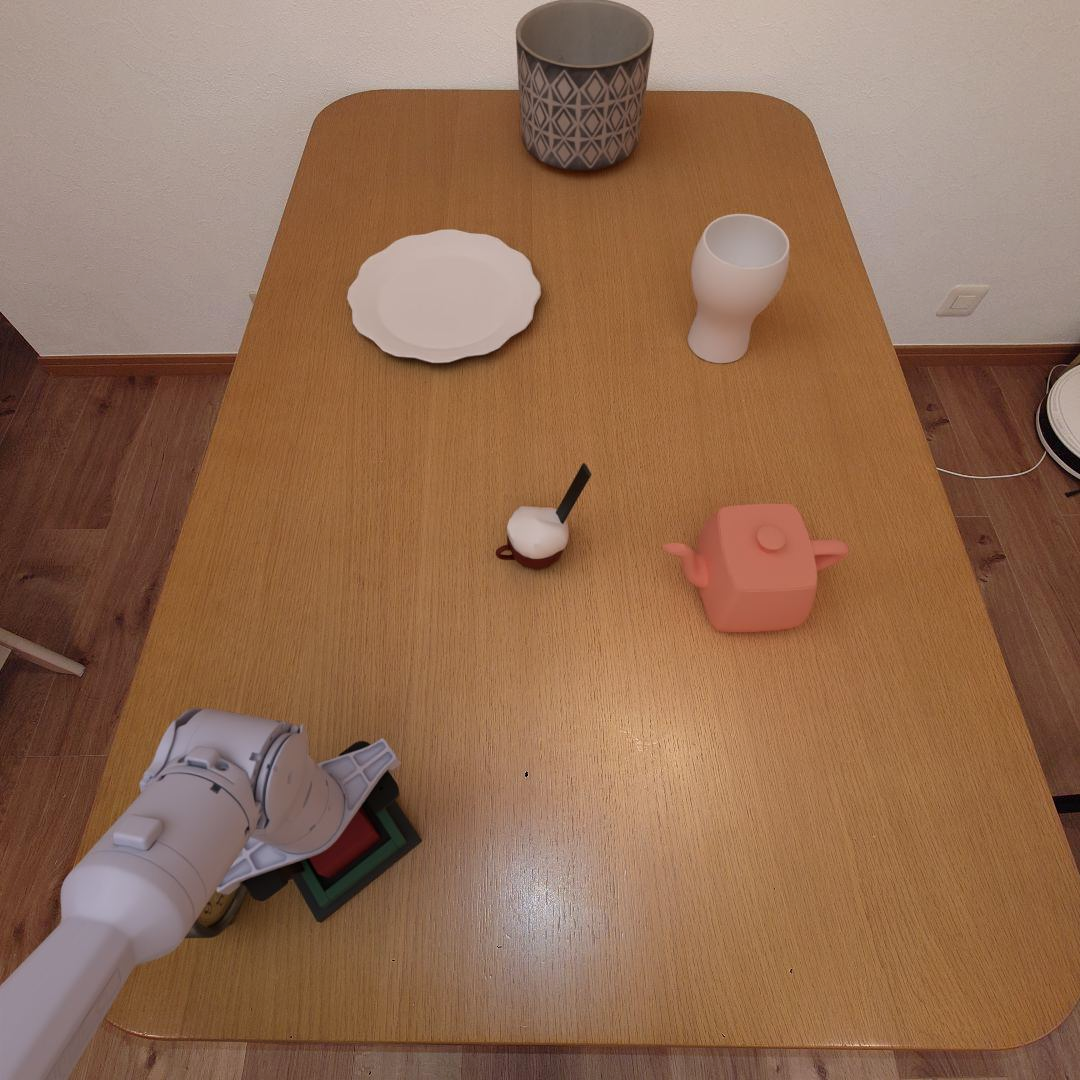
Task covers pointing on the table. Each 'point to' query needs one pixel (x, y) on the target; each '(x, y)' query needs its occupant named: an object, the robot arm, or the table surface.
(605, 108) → the planter
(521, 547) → the cocoa
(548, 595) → the table surface
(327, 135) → the table surface
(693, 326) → the cup
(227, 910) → the alarm clock
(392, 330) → the plate
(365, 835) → the red cube
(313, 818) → the robot arm
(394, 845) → the base pad
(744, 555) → the teapot
